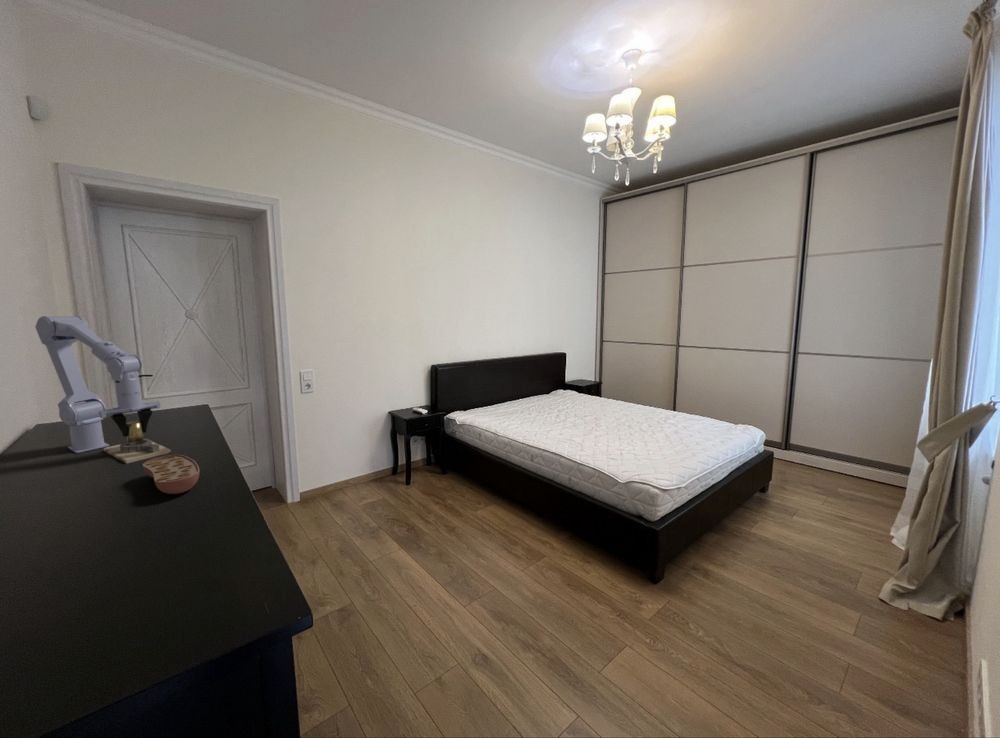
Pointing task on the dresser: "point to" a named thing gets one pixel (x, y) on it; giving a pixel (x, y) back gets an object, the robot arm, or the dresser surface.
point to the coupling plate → (134, 455)
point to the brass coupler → (134, 431)
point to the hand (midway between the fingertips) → (134, 434)
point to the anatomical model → (172, 473)
